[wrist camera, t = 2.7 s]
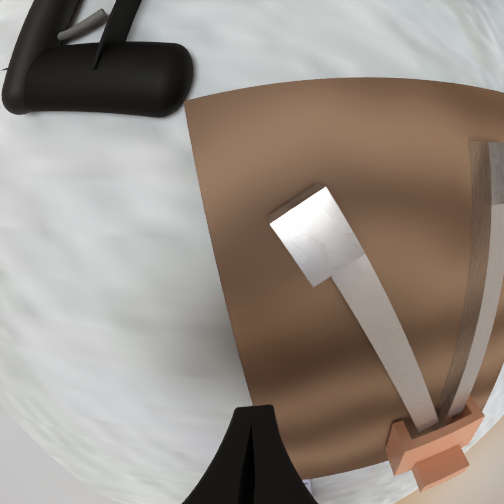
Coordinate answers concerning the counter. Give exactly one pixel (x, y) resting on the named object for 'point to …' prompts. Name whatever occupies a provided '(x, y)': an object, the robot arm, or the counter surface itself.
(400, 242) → the walnut board
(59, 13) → the door handle
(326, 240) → the tong arm
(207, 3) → the counter surface
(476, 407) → the sleeve
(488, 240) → the fixed tong arm
